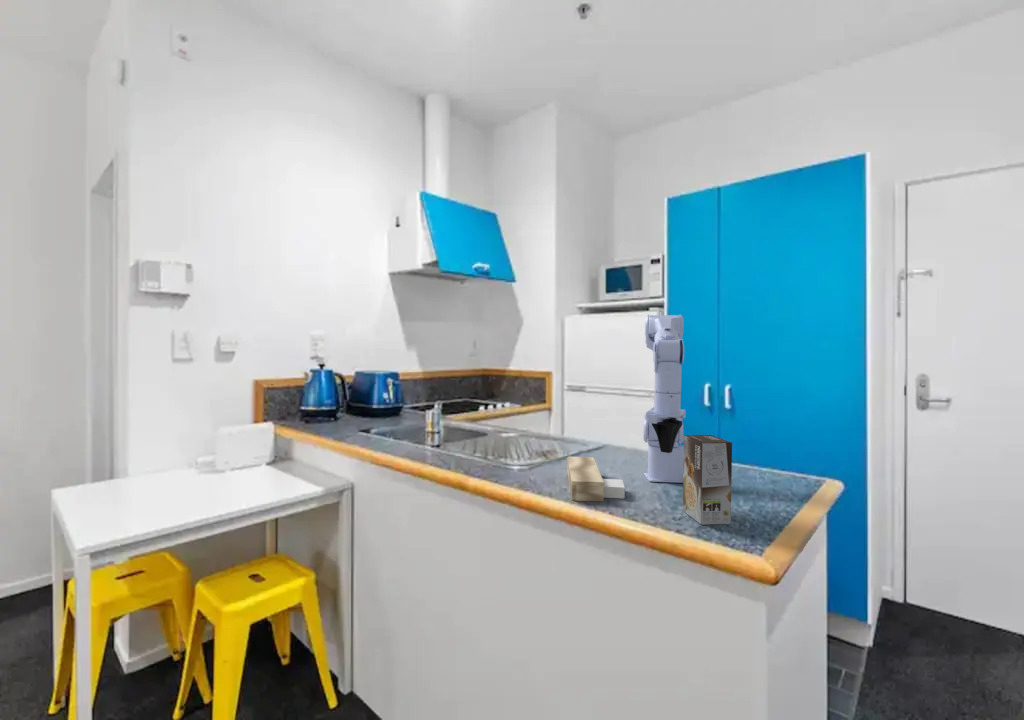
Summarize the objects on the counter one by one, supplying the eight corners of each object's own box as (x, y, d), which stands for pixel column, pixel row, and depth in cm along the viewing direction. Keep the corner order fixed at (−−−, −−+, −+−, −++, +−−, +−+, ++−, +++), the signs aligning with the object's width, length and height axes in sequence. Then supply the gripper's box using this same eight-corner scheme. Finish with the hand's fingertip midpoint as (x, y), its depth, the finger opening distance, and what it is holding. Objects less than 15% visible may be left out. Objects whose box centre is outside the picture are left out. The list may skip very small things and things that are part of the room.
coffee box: (732, 524, 98) (734, 442, 98) (700, 525, 97) (702, 442, 97) (710, 509, 107) (711, 434, 107) (680, 510, 106) (682, 434, 106)
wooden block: (593, 473, 137) (593, 457, 137) (603, 501, 112) (603, 482, 112) (567, 472, 138) (567, 456, 138) (571, 500, 112) (572, 481, 112)
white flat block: (622, 490, 121) (622, 479, 121) (624, 498, 114) (624, 487, 114) (579, 487, 123) (580, 477, 122) (579, 496, 116) (579, 485, 116)
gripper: (666, 389, 123) (665, 445, 123) (635, 392, 113) (634, 453, 113) (694, 391, 118) (693, 449, 118) (664, 395, 108) (663, 458, 108)
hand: (666, 452), depth 115 cm, fingers closed
